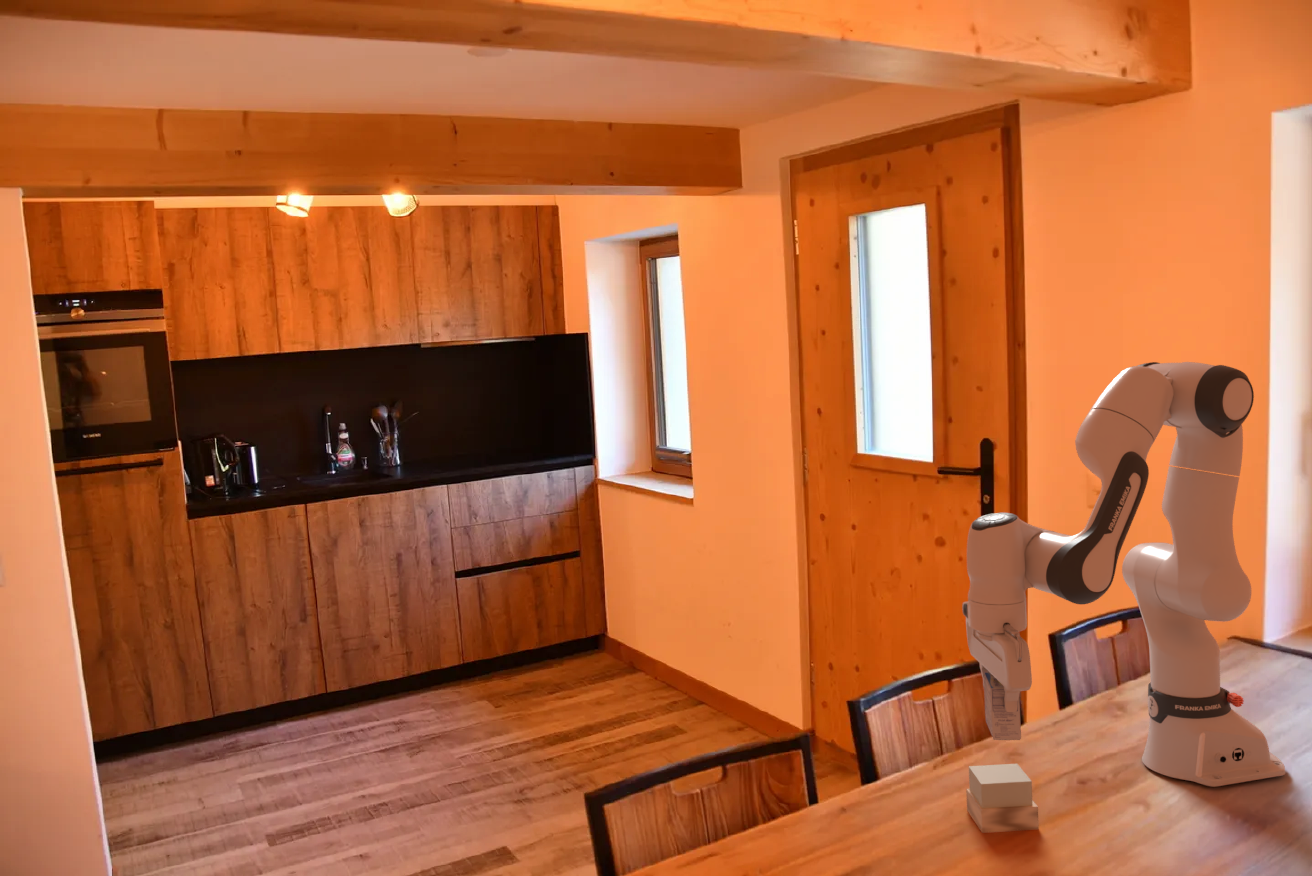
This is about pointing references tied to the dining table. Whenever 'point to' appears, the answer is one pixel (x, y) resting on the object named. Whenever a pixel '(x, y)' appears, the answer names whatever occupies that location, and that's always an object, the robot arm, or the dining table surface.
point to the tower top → (1000, 786)
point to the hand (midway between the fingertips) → (999, 700)
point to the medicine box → (1000, 711)
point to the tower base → (1002, 816)
